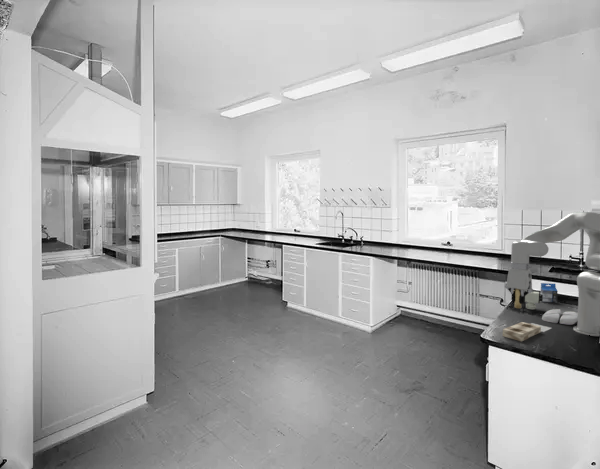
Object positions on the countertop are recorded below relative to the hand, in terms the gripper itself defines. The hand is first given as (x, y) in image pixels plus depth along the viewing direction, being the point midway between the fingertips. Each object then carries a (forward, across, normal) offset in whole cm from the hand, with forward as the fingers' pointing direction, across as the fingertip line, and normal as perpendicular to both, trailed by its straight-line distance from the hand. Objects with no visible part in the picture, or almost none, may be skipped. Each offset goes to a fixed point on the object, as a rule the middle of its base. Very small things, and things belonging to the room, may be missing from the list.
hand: (518, 302), depth 179 cm
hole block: (+17, 0, -5) cm, 18 cm away
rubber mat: (+17, 0, -22) cm, 28 cm away
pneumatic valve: (+17, +19, -58) cm, 63 cm away
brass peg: (+3, 0, 0) cm, 3 cm away
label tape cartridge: (+17, +20, -85) cm, 89 cm away
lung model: (+18, 0, -50) cm, 53 cm away
